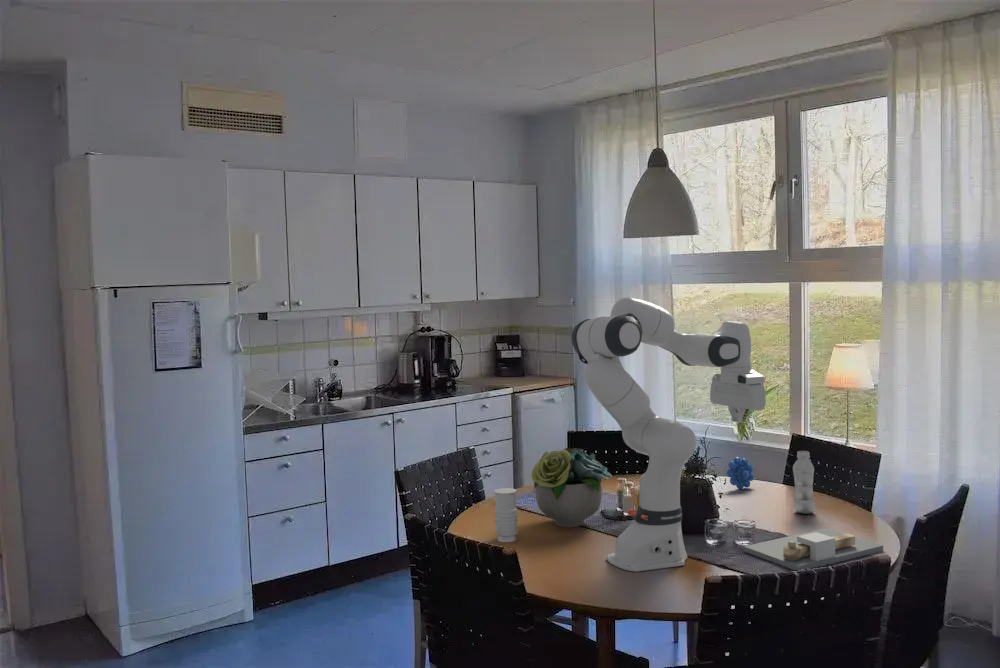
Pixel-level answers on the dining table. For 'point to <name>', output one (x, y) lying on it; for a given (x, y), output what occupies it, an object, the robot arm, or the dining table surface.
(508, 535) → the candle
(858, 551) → the base
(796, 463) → the plastic bottle
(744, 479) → the grapes
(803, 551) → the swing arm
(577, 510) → the flower arrangement
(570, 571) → the dining table surface
